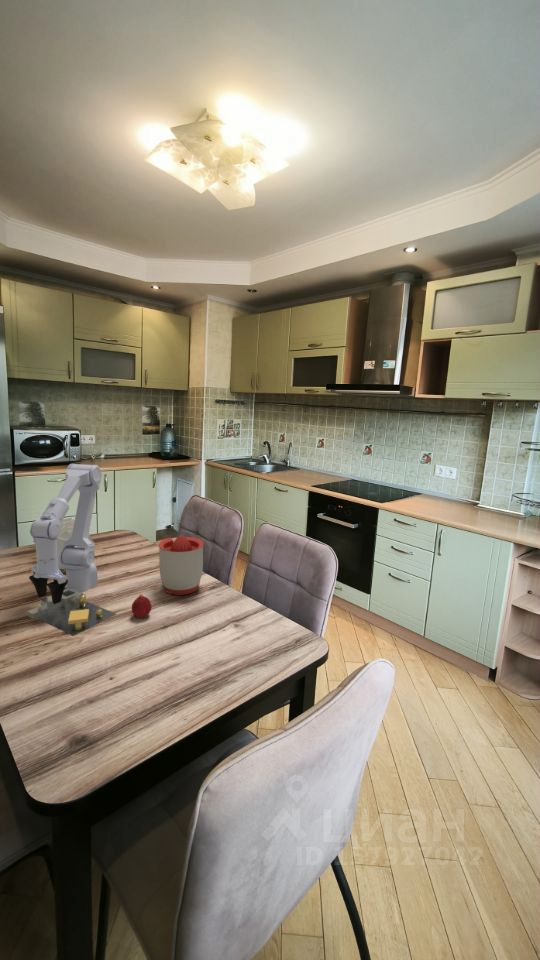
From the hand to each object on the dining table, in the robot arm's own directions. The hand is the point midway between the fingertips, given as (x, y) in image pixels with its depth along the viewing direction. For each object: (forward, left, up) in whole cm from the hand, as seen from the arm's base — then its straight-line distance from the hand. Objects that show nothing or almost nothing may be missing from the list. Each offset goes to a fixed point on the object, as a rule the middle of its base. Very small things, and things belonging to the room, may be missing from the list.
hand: (49, 599), depth 128 cm
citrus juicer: (-36, +21, -4) cm, 42 cm away
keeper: (+1, +15, -3) cm, 16 cm away
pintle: (-7, +6, -3) cm, 10 cm away
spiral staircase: (-27, -31, -4) cm, 41 cm away
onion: (-13, +26, -4) cm, 29 cm away
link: (-2, 0, -3) cm, 4 cm away
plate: (-2, +7, -4) cm, 9 cm away
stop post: (-6, +16, -3) cm, 17 cm away
